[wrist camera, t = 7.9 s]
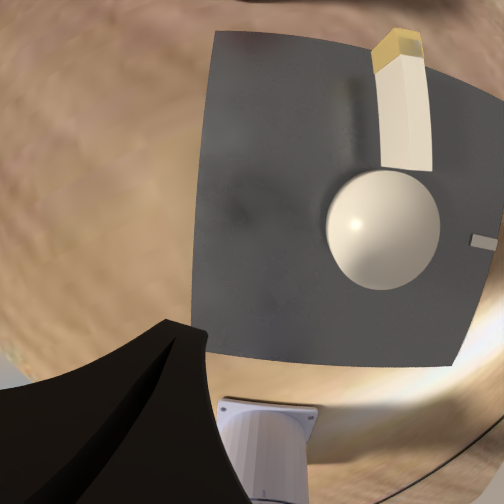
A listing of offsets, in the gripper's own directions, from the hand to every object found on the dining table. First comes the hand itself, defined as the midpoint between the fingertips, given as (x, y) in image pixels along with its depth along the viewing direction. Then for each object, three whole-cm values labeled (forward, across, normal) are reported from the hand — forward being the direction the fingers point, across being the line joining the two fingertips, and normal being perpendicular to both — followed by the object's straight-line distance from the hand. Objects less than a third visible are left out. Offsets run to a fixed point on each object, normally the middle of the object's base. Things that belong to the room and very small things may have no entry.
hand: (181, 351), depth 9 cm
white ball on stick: (+8, -7, -7) cm, 13 cm away
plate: (+10, -8, -4) cm, 13 cm away
